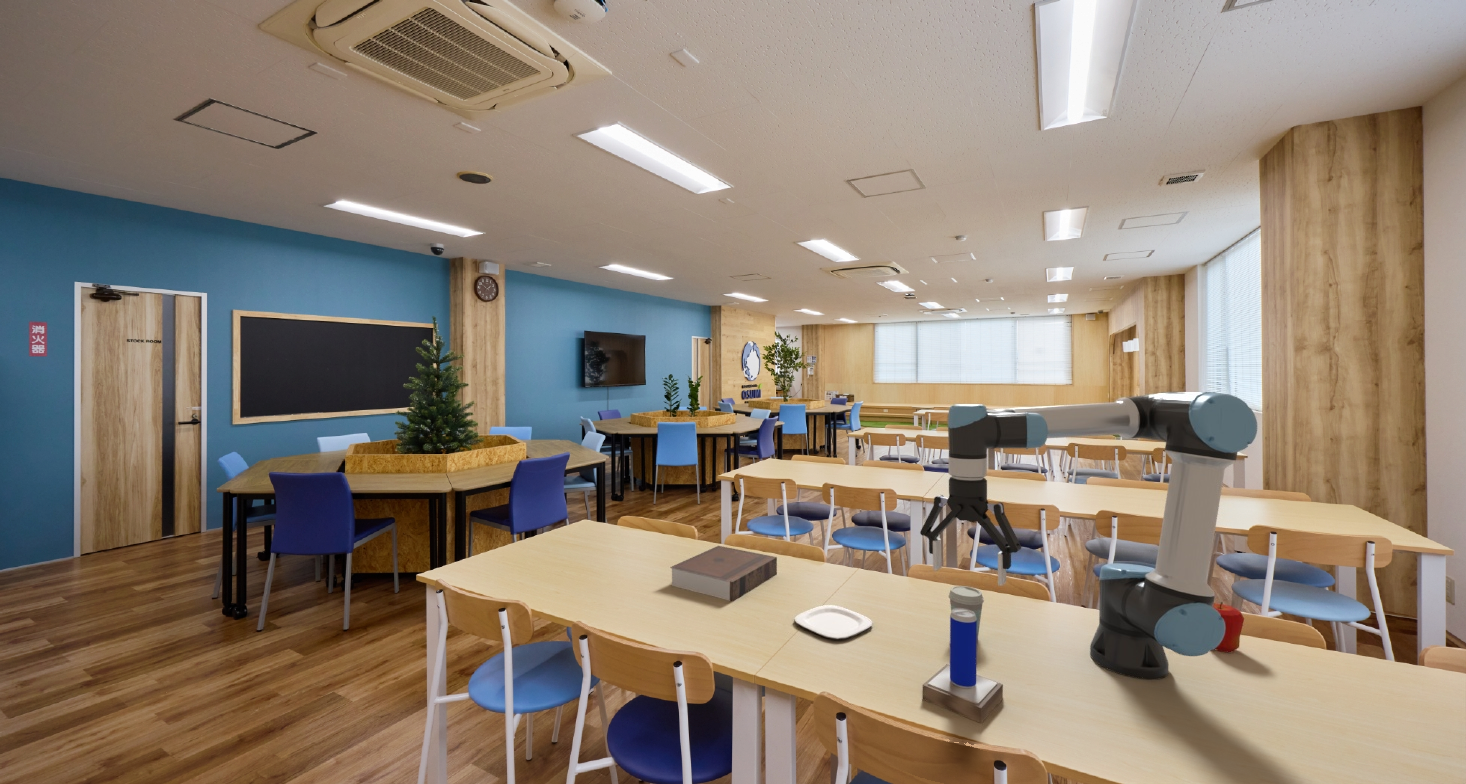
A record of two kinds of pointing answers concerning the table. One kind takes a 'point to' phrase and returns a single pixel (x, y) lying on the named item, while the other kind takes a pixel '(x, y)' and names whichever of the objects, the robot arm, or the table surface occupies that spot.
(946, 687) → the stand
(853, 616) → the plate
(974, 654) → the beverage can
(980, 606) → the coffee cup
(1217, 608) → the apple
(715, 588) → the book
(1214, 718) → the table surface
